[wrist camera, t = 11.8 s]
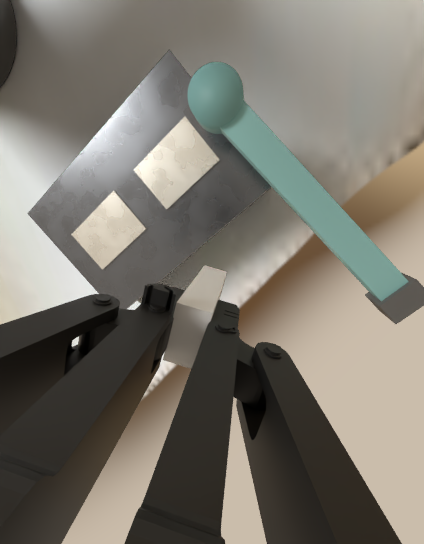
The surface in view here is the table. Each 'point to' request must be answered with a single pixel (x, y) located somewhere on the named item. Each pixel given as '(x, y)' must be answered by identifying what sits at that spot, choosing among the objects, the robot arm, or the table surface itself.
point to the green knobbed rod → (299, 189)
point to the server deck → (146, 189)
